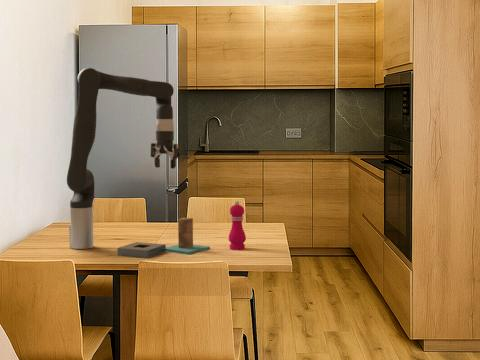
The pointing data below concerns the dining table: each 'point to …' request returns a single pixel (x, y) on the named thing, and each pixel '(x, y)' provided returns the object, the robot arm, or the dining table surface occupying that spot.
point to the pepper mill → (237, 228)
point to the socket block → (141, 249)
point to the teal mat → (187, 251)
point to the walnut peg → (185, 233)
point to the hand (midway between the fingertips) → (165, 167)
